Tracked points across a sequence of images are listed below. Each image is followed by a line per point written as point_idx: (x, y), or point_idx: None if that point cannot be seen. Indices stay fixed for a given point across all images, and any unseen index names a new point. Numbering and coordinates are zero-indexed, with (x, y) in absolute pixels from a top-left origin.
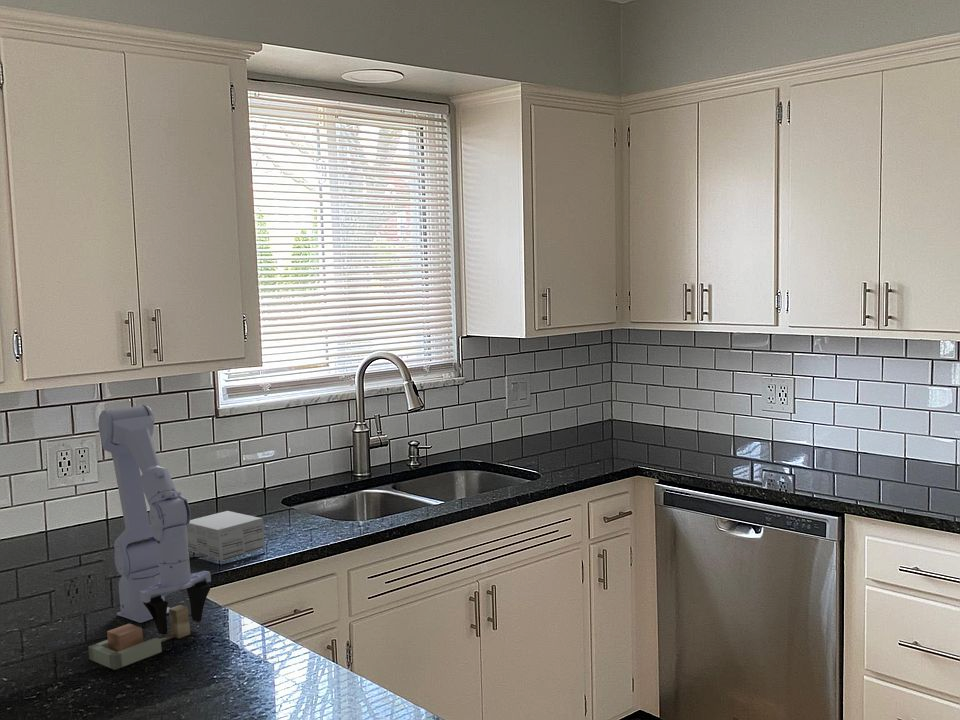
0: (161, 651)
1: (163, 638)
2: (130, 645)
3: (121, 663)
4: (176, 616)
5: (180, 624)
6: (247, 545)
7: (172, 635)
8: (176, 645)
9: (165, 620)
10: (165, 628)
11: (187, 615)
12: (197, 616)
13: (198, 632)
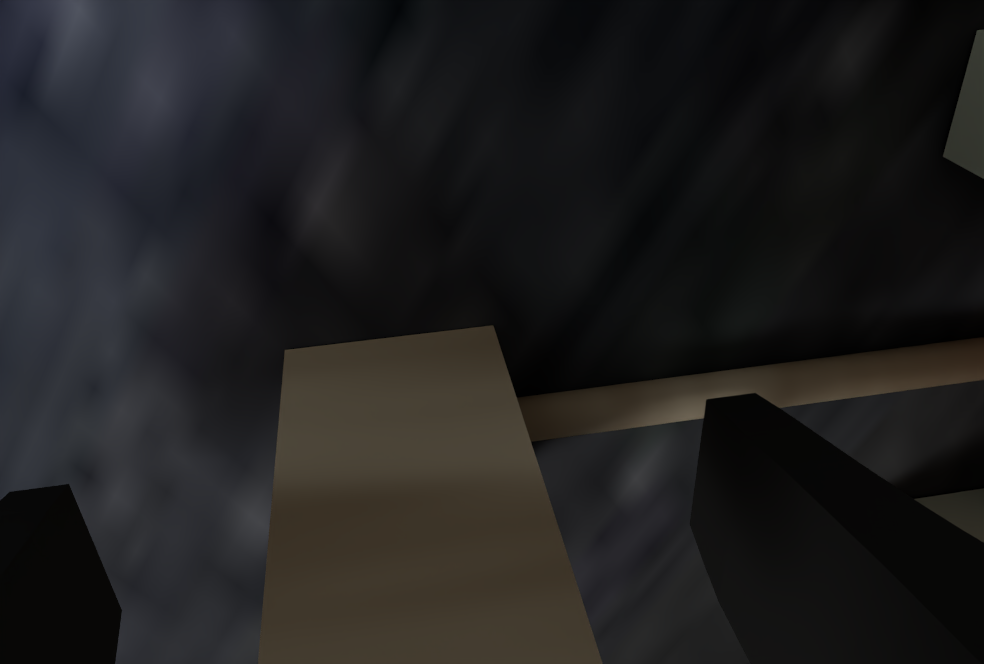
0: (982, 34)
1: (692, 405)
2: None
3: None
4: (581, 611)
5: (471, 469)
6: None
7: (550, 416)
8: (686, 88)
9: (890, 547)
10: (800, 439)
11: (292, 597)
12: (41, 575)
13: (152, 316)
